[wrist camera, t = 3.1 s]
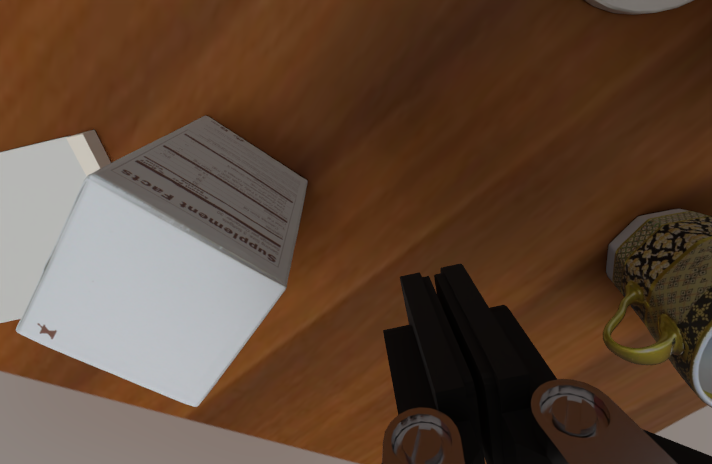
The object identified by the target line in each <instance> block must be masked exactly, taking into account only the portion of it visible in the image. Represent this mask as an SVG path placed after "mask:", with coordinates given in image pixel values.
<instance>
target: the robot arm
mask: <svg viewBox="0 0 712 464" xmlns="http://www.w3.org/2000/svg"><path fill="white" fill-rule="evenodd" d="M585 1H586V2H588V3H589V4H591V5H592V6H594V7H597V8H600V9H603V10H606V11H609V12H612V13H619V14H630V15H636V14H646V13H656V12H660V11H665V10H669V9H673V8H677V7H680V6H682V5H684V4H687V3H689V2H691V1H694V0H585ZM434 278H435V285H436V291H437V294H436V292H435V289H434V287H433V285H432V282H431V280H430V278H429V276H427V277H421V274H420V273H415V274H410V275H406V276H401V277H400V281H401V286H402V291H403V296H404V301H405V306H406V311H407V316H408V321H409V325H406V326H401V327H397V328H392V329H387V330H383V332H384V338H385V344H386V349H387V355H388V360H389V366H390V371H391V377H392V382H393V388H394V393H395V399H396V404H397V410H398V416H397V417H395V418H394V419H393V420H392V421H391V422H390V424H389V426H388V427H387V429H386V431H385V435H384V440H383V457H382V464H485V460H486V463H487V464H712V456H709V455H707V454H704V453H702V452H699V451H697V450H694V449H691V448H689V447H686V446H684V445H681V444H679V443H676V442H674V441H671V440H668V439H666V438H663V437H661V436H658V435H656V434H653V433H651V432H648V431H645V430H643V429H641V428H640V427H639V426H638V425H637V424H636V423H635V422H634V421H633V420H632V419H631V418H630V417H629V416H628V415H627V414H626V413H625V412H624V411H623V410H622V409H621V408H620V407H619V406H618V405H617V404H616V403H614V402H613V401H612V400H611V399H610V398H609V397H608V396H607V395H606V394H604V393H603V392H602V391H600V390H599V389H597V388H595V387H593V386H591V385H589V384H587V383H584V382H580V381H576V380H571V379H557V378H556V377H555V375H554V374H553V373H552V371H551V370H550V368H549V367H548V365H547V364H546V362H545V361H544V359H543V358H542V357H541V355H540V354H539V352H538V351H537V349H536V348H535V346H534V345H533V343H532V342H531V341H530V339H529V338H528V336H527V335H526V333H525V332H524V330H523V329H522V327H521V326H520V325H519V323H518V322H517V320H516V319H515V317H514V316H513V314H512V313H511V311H510V310H509V309H508V308H507V306H505V305H501V306H496V307H491V308H489V307H488V306H487V304H486V302H485V301H484V299H483V297H482V296H481V294H480V293H479V291H478V289H477V288H476V286H475V284H474V283H473V281H472V279H471V278H470V276H469V275H468V273H467V271H466V270H465V268H464V266H463V265H462V264H457V265H452V266H447V267H443V268H441V273H440V274H436V275H434ZM484 457H485V460H484Z"/></svg>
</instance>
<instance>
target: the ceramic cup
mask: <svg viewBox="0 0 712 464" xmlns="http://www.w3.org/2000/svg"><path fill="white" fill-rule="evenodd" d="M606 273H607V276H608V277H609V278H610V280H611V281H612V282H613V283H614V285H615V286H616V287H617V288H618V289H619V291H620V292H621V293H622V294H623V296H624V298H623V299H622V301H621V302H620V305H619V308H618V311H617V313H616V314H615V315H614V316H613V317H612V319H611V320H610V321H609V322H608V323H607V324H606V326H605V328H604V331H603V340H604V343H605V345H606V346H607V348H608V349H609V350H610V351H611V352H613V353H614V354H615V355H617V356H619V357H620V358H622V359H624V360H626V361H628V362H631V363H634V364H640V365H656V364H660V363H662V362H664V361H666V360H667V359H669V360H670V362H671V363H672V364H673V366H674V367H675V369H676V370H677V371H678V373H679V374H680V375H681V377H682V378H683V379H684V380H685V382H686V383H687V384H688V385H689V386H690V388H691V389H692V390H693V391H694V392H695V394H696V395H697V396H698V397H699V398H700V399H701V400H702V401H703V402H704V403H706V404H707V405H708V406H710V407H712V216H708V215H704V214H701V213H697V212H693V211H688V210H684V209H673V210H668V211H663V212H657V213H652V214H647V215H642V216H638V217H637V218H636V219H634V220H633V221H632V222H631V223H630V224H629V225H628V226H627V227H626V228H625V229H624V230H623V231H622V232H621V233H620V234H619V235H618V236H617V237H616V238H615V239H614V240H613V241H612V242H611V243H610V244H609V246H608V256H607V266H606ZM629 305H631V307H632V308H633V309H634V311H635V312H636V313H637V315H638V316H639V317H640V319H641V320H642V321H643V323H644V324H645V325H646V327H647V328H648V330H649V332H650V333H651V335H652V336H653V338H654V339H655V340H656V343H655V344H653V345H650V346H647V347H644V348H629V347H625V346H622V345H620V344H617V343H616V342H615V341H614V340H613V339H612V338H611V336H610V335H611V333H612V331H613V330H614V329H615V328H616V327H617V325H618V324H619V323H620V322H621V320H622V319H623V317H624V316H625V313H626V309H627V307H628V306H629Z"/></svg>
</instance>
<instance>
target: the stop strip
mask: <svg viewBox="0 0 712 464" xmlns="http://www.w3.org/2000/svg"><path fill="white" fill-rule="evenodd" d="M66 139H67V141H68V143H69V145H70V146H71V148H72V150H73V152H74V154H75V156H76V158H77V160H78V161H79V163H80V165H81V167H82V169H83V171H84V173H85V174H86V176H88V175H89V174H91V173H93V172H95V171H97V170H99V169H101V168H103V167H105V166H107V165H108V164H110V163H111V162H110V160H109V158H108V156H107V154H106V152H105V150H104V148H103V146H102V144H101V142H100V140H99V138H98V136H97V134H96V132H95V130H91V131H87V132H83V133H79V134H76V135H73V136H70V137H67V138H66Z"/></svg>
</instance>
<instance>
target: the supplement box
mask: <svg viewBox="0 0 712 464" xmlns="http://www.w3.org/2000/svg"><path fill="white" fill-rule="evenodd" d="M307 182H308V181H307V180H306V179H304V178H303V177H301V176H299V175H298V174H296V173H295V172H293V171H292V170H290V169H289V168H287V167H286V166H284V165H282V164H281V163H280V162H278V161H276V160H275V159H273V158H272V157H270V156H269V155H267V154H266V153H264V152H263V151H261V150H259V149H258V148H256V147H255V146H253V145H252V144H250V143H249V142H247V141H246V140H244V139H243V138H241V137H239V136H238V135H236V134H235V133H233V132H232V131H230V130H229V129H227V128H225V127H224V126H222V125H221V124H219V123H218V122H216V121H215V120H213V119H212V118H210V117H208V116H203V117H201V118H199V119H198V120H195V121H193V122H191V123H190V124H188V125H186V126H184V127H182V128H180V129H178V130H176V131H174V132H172V133H170V134H168V135H166V136H164V137H162V138H160V139H158V140H156V141H154V142H152V143H150V144H148V145H146V146H144V147H142V148H140V149H138V150H136V151H134V152H132V153H130V154H128V155H126V156H124V157H122V158H120V159H118V160H116V161H114V162H112V163H110V164H108V165H107V166H105V167H103V168H101V169H99V170H97V171H95V172H93V173H91V174H89V175H88V176H87V177H86V178H85V180H84V181H83V183H82V185H81V188H80V190H79V192H78V194H77V196H76V198H75V201H74V203H73V206H72V208H71V210H70V212H69V215H68V217H67V219H66V221H65V223H64V226H63V228H62V230H61V232H60V234H59V237H58V239H57V241H56V243H55V246H54V248H53V250H52V252H51V254H50V255H49V257H48V259H47V261H46V263H45V265H44V268H43V271H42V274H41V276H40V279H39V281H38V283H37V285H36V287H35V290H34V292H33V294H32V296H31V298H30V301H29V303H28V305H27V307H26V309H25V312H24V314H23V316H22V318H21V320H20V322H19V324H18V325H17V328H16V331H17V333H19V334H21V335H23V336H25V337H27V338H29V339H32V340H34V341H36V342H38V343H40V344H42V345H44V346H47V347H49V348H51V349H54V350H56V351H58V352H61V353H63V354H65V355H68V356H70V357H73V358H75V359H77V360H80V361H82V362H85V363H87V364H90V365H92V366H94V367H97V368H99V369H102V370H104V371H107V372H109V373H112V374H114V375H117V376H119V377H121V378H124V379H126V380H128V381H131V382H133V383H136V384H138V385H140V386H143V387H145V388H148V389H150V390H153V391H155V392H158V393H160V394H162V395H165V396H167V397H169V398H171V399H174V400H177V401H179V402H182V403H185V404H188V405H190V406H193V407H196V406H198V405H199V404H200V403H201V402H202V400H203V399H204V398H205V397H206V396H207V394H208V393H209V392H210V391H211V389H212V388H213V387H214V385H215V384H216V383H217V381H218V380H219V379H220V377H221V376H222V375H223V373H224V372H225V371H226V369H227V368H228V367H229V365H230V364H231V363H232V361H233V360H234V359H235V357H236V356H237V355H238V353H239V352H240V351H241V349H242V348H243V347H244V345H245V344H246V343H247V341H248V340H249V338H250V337H251V336H252V334H253V333H254V332H255V330H256V329H257V328H258V326H259V325H260V324H261V322H262V321H263V320H264V318H265V317H266V316H267V314H268V313H269V311H270V310H271V309H272V307H273V306H274V305H275V303H276V302H277V300H278V299H279V297H280V296H281V295H282V293H283V292H284V291H285V289H286V287H287V281H288V276H289V271H290V267H291V261H292V257H293V251H294V247H295V242H296V238H297V233H298V229H299V224H300V219H301V214H302V209H303V204H304V199H305V194H306V188H307Z"/></svg>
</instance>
